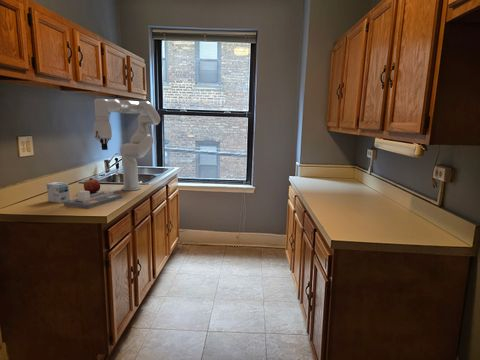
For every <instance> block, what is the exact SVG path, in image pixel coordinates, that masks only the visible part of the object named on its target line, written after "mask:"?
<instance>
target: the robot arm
mask: <svg viewBox="0 0 480 360" xmlns="http://www.w3.org/2000/svg"><path fill="white" fill-rule="evenodd" d="M94 111H95V115H94V116H95V122H94V125H93V131H94V132H93V133H94V138H95V139H96V141H97V142H99V144H100V146H101V150H102V151H108V150H109V149H108V143H109V141H111V140H112V137H113V136H112V135H113V133H112V126H111V122H110V113H120V114H135V115H137V114H139V115H138V116H137V123H138V124H137V125H138V129H137V130H136V131H135V132H134V133H133V135H131V138H130V140H129V143H128V142H127V143H123V144H122V145H121V146H120V150H119V151H120V156H121V160H122V176H123V186H122V187H121V190H123V191H127V192H128V191H138V190H141V189H142V187H141V185H142V184H143V181H142V180H141V181H139V171H138V162H137V159H142V158H144V157H146V155H147V153H148V152H149V151H150V150H151V148H152V146H153V144H154V138H153V136H152V135H151V134H150V129H149V127H148V126H157V125H159V124H160V122H161V116H160V114H159V113H158V111H157V110H156V108H155V106H153V104H152V103H151V102H150V101H147V100H145V101H144V100H143V101H142V100H141V101H137V100H129V99H120V100H119V99H114V98H113V99H111V98H107V99H106V98H96V99H94Z"/></svg>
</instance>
